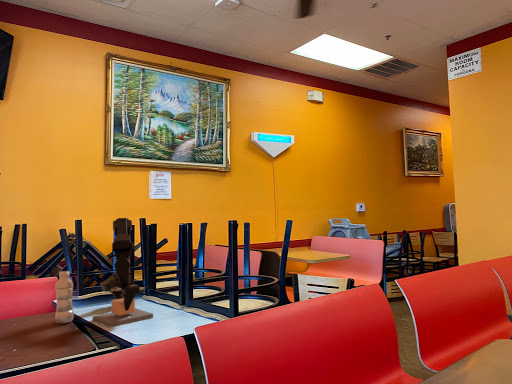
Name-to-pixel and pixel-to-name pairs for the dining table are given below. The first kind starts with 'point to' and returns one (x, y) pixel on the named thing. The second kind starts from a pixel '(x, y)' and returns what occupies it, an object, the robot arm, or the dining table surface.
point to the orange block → (121, 307)
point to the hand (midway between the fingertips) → (122, 309)
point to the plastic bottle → (64, 298)
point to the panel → (122, 318)
